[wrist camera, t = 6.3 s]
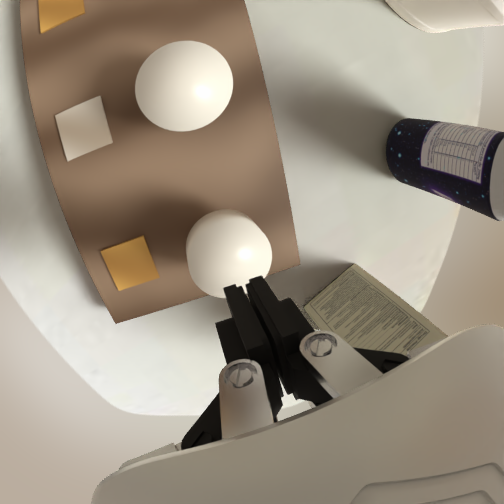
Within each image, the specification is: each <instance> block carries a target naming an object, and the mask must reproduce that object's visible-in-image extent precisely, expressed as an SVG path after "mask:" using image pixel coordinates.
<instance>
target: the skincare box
mask: <svg viewBox="0 0 504 504" xmlns="http://www.w3.org/2000/svg"><path fill="white" fill-rule="evenodd" d="M304 309H305V311H306V312H307V313H308V315H309V316H310V317H311V319H312V320H313V321H314V322H315V324H316V325H317V326H318V328H319V329H320V330H325V331H331V332H334V333H335V334H337V335H339V336H340V337H341V338H342V339H343V340H344V341H345V342H347V343H348V344H349V345H350V346H351V347H355V348H362V349H370V350H378V351H386V352H395V353H400V354H403V355H407V353H408V351H410V350H413V349H416V348H419V347H422V346H425V345H427V344H430V343H433V342H435V341H438V340H441V339H443V338H446V337H449V336H447V335H446V334H445V333H444V332H442V331H441V330H440V329H439V328H438V327H436V326H435V325H434V324H432V323H431V322H430V321H429V320H428V319H427V318H425V317H424V316H423V315H422V314H420V313H419V312H418V311H416V310H415V309H414V308H413V307H411V306H410V305H409V304H408V303H406V302H405V301H404V300H403V299H401V298H400V297H399V296H398V295H396V294H395V293H394V292H392V291H391V290H390V289H388V288H387V287H386V286H384V285H383V284H382V283H381V282H379V281H378V280H377V279H375V278H374V277H373V276H371V275H370V274H369V273H367V272H366V271H365V270H363V269H362V268H361V267H359V266H358V265H357V264H353V265H352V266H351V267H350V268H348V269H347V270H346V271H345V272H344V273H342V274H341V275H340V276H339V277H338V278H337V279H336V280H334V281H333V282H332V283H331V284H330V285H329V286H327V287H326V288H325V289H324V290H323V291H322V292H320V293H319V294H318V295H317V296H316V297H315V298H314V299H312V300H311V301H310V302H309V303H308V304H307V305H306V306H305V307H304Z"/></svg>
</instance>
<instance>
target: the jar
mask: <svg viewBox="0 0 504 504" xmlns="http://www.w3.org/2000/svg"><path fill="white" fill-rule="evenodd" d="M385 1H386V2H387V4H388V5H389V6H390V7H391V8H392V9H393V10H394V11H395V12H396V13H397V14H398V15H399V16H400V17H401V18H403V19H404V20H405V21H407V22H408V23H409V24H411V25H412V26H414V27H416V28H418V29H420V30H422V31H425V32H429V33H439V32H445V31H449V30H453V29H461V28H471V27H482V26H498V25H499V26H501V25H504V0H385Z"/></svg>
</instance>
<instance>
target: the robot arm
mask: <svg viewBox="0 0 504 504" xmlns="http://www.w3.org/2000/svg"><path fill="white" fill-rule="evenodd" d="M245 286H246V290H247V293H248V297H249V300H248V298H247V296H246V294H245V292H244V290H243V288H242V286H238V287H237V286H236V284H233V285H230V286H227V287H224V288H223V290H224V293H225V296H226V299H227V302H228V305H229V308H230V311H231V314H232V317H233V318H230V319H226V320H223V321H220V322H217V323H215V324H216V328H217V332H218V335H219V339H220V342H221V346H222V349H223V353H224V356H225V359H226V363H227V365H226V366H225V367H224V368H223V369H222V371H221V372H220V374H219V393H218V394H217V396H216V397H215V398H214V400H213V401H212V402H211V403H210V405H209V406H208V407H207V409H206V410H205V411H204V412H203V414H202V415H201V416H200V417H199V419H198V420H197V421H196V423H195V424H194V425H193V426H192V427H191V429H190V430H189V431H188V432H187V434H186V435H185V436H184V438H183V440H182V442H181V443H178V444H176V445H175V444H174V443H171V444H169V445H167V446H164V447H162V448H159V449H157V450H154V451H152V452H150V453H148V454H144V455H142V456H140V457H137V458H134V459H132V460H129V461H127V462H125V463H123V464H122V466H121V467H120V468H119V470H118V471H116V472H114V473H112V474H111V475H109V476H108V477H106V478H105V479H104V480H102V481H101V482H100V484H99V485H98V486H97V488H96V489H95V491H94V494H93V498H92V502H91V504H504V328H503V327H501V326H499V325H495V324H483V325H478V326H474V327H470V328H467V329H465V330H462V331H459V332H457V333H455V334H453V335H452V336H449V337H446V338H443V339H441V340H438V341H435V342H433V343H430V344H427V345H425V346H422V347H419V348H416V349H413V350H410V351H408V353H407V355H403V354H400V353H395V352H386V351H378V350H370V349H362V348H355V347H351V346H350V345H349V344H348V343H347V342H345V341H344V340H343V339H342V338H341V337H340V336H339V335H337V334H335V333H334V332H331V331H325V330H321V331H314V329H313V328H312V327H311V325H310V324H309V323H308V321H307V320H306V318H305V317H304V316H303V314H302V313H301V312H300V310H299V309H298V307H297V306H296V305H295V303H294V302H293V301H292V299H291V298H287V299H284V300H282V301H278V299H277V298H276V296H275V295H274V293H273V292H272V290H271V289H270V287H269V286H268V284H267V282H266V281H265V279H264V278H263V276H262V275H260V276H257V277H254V278H251V279H249V283H247V284H245ZM249 301H250V302H249ZM279 378H280V380H281V382H282V384H283V386H284V389H285V391H286V393H287V394H288V395H289V394H291V393H293V395H294V397H295V399H296V400H297V399H303V400H307V401H309V404H310V406H311V408H312V409H309V410H307V411H304V412H302V413H300V414H297V415H294V416H292V417H289V418H286V419H284V420H281V421H278V419H277V414H278V412H279V411H280V409H281V407H282V405H283V404H282V400H281V397H283V396H284V395H283V391H282V387H281V384H280V380H279Z"/></svg>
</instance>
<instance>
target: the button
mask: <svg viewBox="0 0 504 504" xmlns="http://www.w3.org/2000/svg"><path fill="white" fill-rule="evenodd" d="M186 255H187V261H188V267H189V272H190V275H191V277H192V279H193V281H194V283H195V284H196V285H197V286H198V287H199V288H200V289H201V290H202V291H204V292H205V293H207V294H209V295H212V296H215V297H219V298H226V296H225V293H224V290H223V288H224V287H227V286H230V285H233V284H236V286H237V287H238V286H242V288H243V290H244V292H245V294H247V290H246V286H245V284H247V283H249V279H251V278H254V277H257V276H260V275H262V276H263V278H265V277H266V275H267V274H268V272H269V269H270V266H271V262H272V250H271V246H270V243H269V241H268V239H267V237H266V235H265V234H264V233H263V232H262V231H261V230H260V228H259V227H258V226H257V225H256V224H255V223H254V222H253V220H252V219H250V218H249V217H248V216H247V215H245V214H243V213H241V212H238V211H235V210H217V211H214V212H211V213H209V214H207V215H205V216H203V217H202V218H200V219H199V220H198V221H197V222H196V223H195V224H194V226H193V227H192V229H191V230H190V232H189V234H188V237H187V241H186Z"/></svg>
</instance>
